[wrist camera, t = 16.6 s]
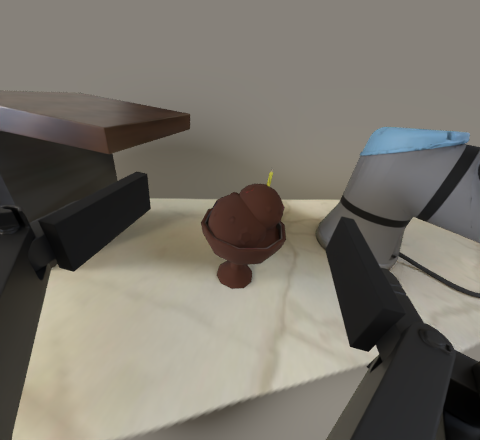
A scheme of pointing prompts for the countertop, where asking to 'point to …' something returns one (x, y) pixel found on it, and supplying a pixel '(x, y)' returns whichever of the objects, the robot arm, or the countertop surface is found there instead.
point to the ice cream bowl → (244, 231)
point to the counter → (69, 145)
